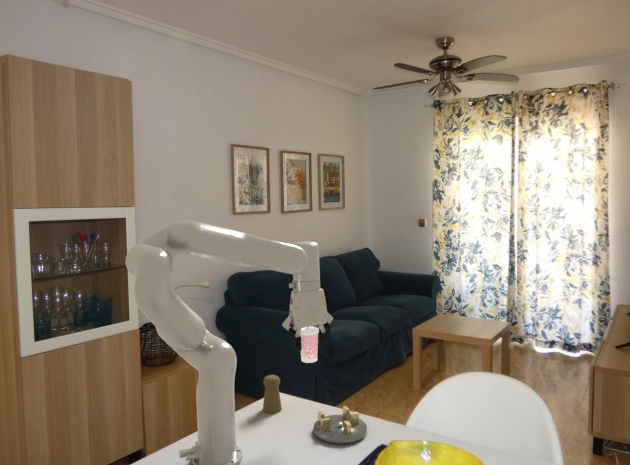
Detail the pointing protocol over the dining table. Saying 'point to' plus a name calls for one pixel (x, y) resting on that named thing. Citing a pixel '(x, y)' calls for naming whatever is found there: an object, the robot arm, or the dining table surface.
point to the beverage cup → (309, 344)
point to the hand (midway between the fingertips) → (309, 346)
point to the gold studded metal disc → (340, 428)
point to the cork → (271, 395)
